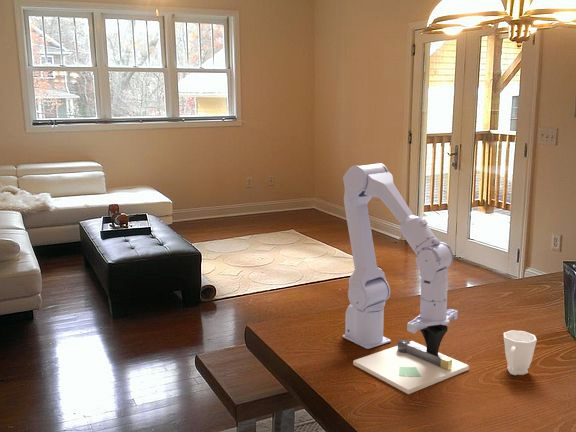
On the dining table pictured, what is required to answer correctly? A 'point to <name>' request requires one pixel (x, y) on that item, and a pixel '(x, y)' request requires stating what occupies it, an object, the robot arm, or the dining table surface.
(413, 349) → the lever
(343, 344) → the dining table surface
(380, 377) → the board
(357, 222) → the robot arm
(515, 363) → the cup
